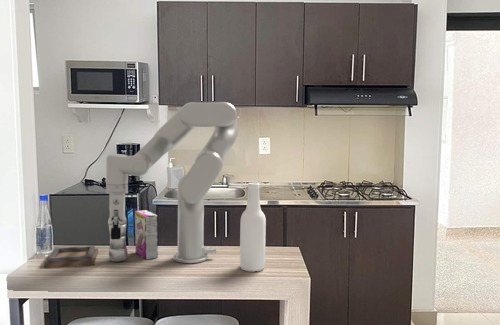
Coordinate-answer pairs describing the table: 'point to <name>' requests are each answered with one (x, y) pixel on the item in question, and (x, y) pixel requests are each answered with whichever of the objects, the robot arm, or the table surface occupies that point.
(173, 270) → the table surface
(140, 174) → the robot arm
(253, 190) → the alcohol
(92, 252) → the brown wooden tray
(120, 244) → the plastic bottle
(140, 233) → the candy bar box
